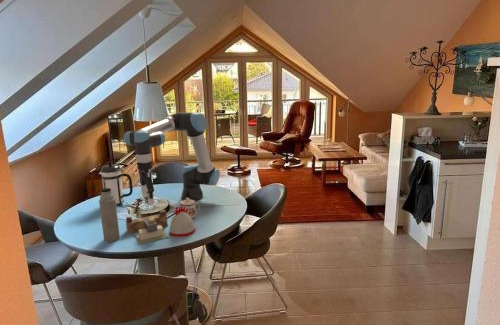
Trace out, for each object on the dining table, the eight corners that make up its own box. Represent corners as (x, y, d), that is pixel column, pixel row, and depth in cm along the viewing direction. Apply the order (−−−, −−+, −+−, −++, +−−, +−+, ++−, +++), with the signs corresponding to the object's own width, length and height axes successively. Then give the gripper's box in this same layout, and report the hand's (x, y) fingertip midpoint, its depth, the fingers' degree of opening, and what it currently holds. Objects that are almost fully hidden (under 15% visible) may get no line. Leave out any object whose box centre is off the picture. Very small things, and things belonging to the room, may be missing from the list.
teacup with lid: (184, 220, 223) (183, 201, 220) (179, 215, 230) (177, 197, 228) (202, 215, 228) (201, 197, 226) (197, 211, 236) (196, 194, 233)
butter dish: (162, 229, 209) (161, 222, 208) (168, 237, 199) (167, 229, 198) (135, 235, 202) (134, 228, 201) (139, 244, 192) (139, 236, 191)
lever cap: (153, 225, 204) (152, 215, 203) (157, 230, 197) (156, 220, 196) (144, 227, 202) (143, 217, 201) (148, 232, 195) (147, 222, 193)
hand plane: (165, 222, 219) (164, 209, 217) (167, 225, 215) (166, 211, 213) (126, 230, 209) (125, 216, 207) (128, 234, 205) (127, 219, 203)
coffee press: (112, 210, 242) (107, 165, 235) (98, 205, 252) (93, 162, 245) (134, 202, 256) (130, 160, 249) (121, 198, 265) (116, 157, 258)
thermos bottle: (107, 235, 204) (101, 186, 197) (122, 235, 203) (116, 186, 197) (101, 242, 196) (94, 191, 189) (116, 242, 196) (110, 191, 189)
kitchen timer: (165, 231, 208) (163, 205, 204) (187, 224, 216) (185, 200, 212) (176, 239, 197) (174, 212, 194) (199, 232, 205) (197, 206, 202)
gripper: (131, 157, 200) (135, 195, 205) (142, 167, 179) (146, 209, 184) (145, 156, 203) (149, 192, 208) (158, 165, 182) (161, 206, 187)
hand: (148, 200), depth 196 cm, fingers open, 13 cm apart
